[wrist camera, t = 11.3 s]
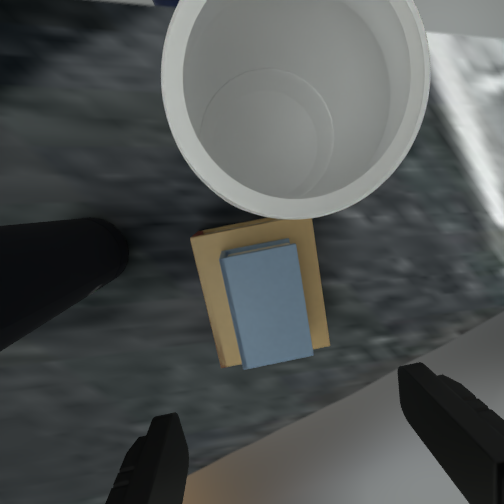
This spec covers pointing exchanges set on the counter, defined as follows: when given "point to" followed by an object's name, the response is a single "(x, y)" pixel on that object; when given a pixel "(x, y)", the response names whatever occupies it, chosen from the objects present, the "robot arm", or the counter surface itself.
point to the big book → (245, 234)
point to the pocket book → (267, 302)
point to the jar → (295, 98)
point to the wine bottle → (53, 269)
